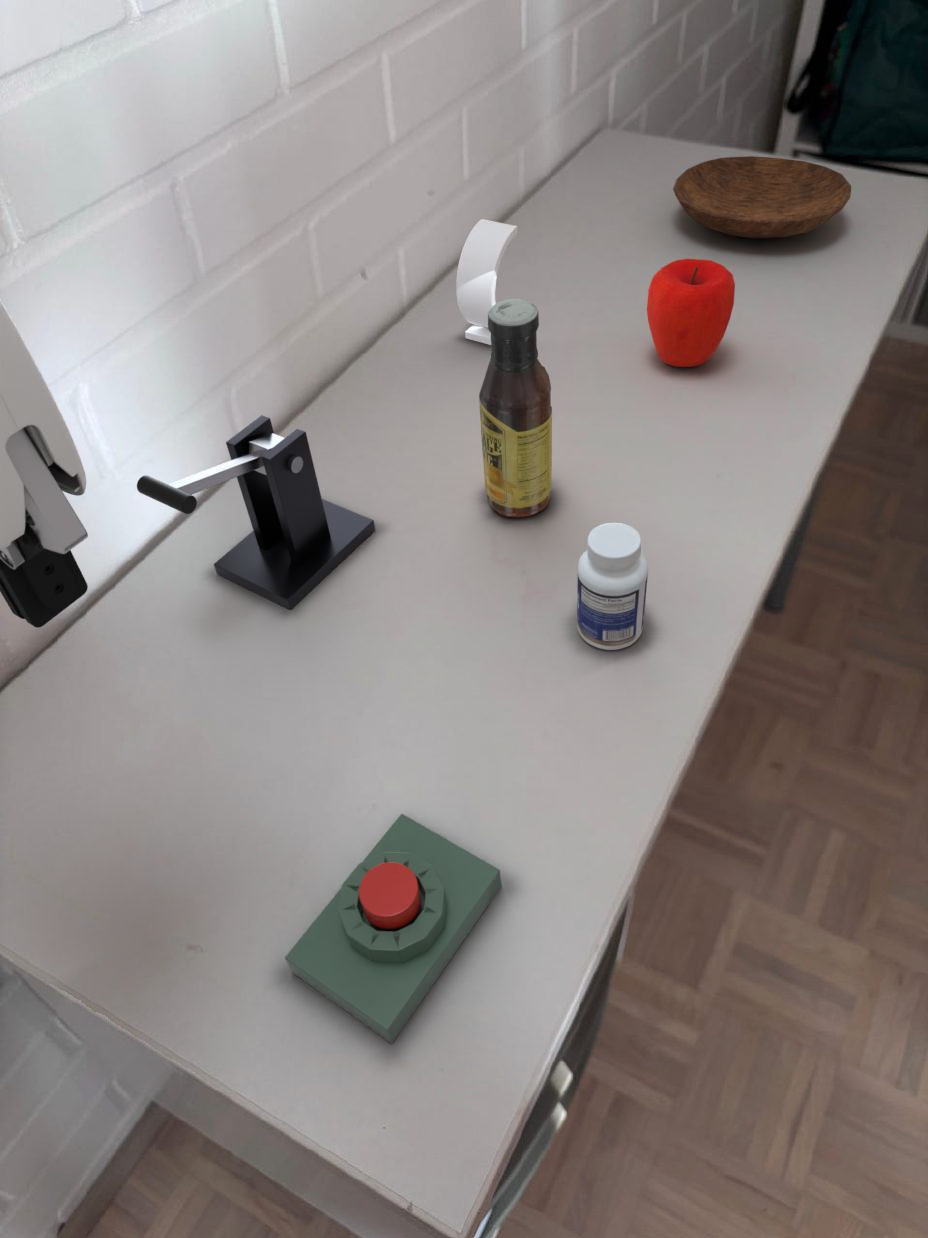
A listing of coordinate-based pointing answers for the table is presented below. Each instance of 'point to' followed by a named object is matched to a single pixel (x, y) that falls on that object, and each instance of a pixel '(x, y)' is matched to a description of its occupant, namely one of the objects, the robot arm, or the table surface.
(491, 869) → the button box
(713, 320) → the apple
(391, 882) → the button
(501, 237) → the headphone stand
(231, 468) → the lever
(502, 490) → the sauce bottle
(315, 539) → the bracket
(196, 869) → the table surface
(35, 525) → the robot arm
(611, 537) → the pill bottle
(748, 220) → the bowl
